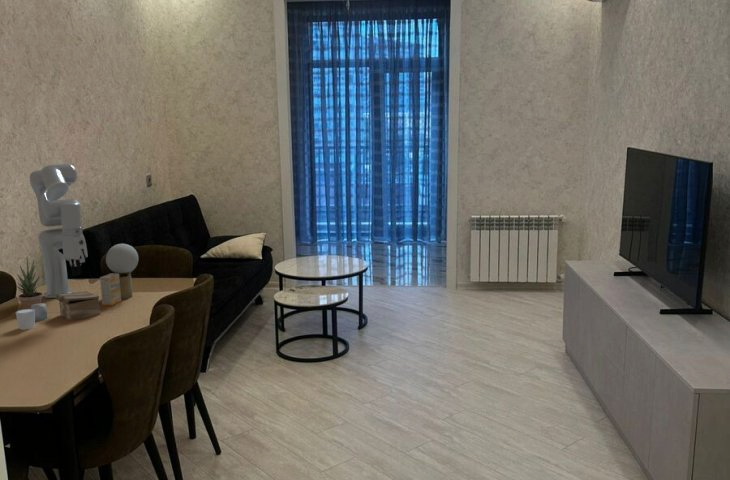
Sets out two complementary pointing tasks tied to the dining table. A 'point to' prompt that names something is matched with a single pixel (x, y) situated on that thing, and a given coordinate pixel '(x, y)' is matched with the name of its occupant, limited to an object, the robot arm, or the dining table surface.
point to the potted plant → (29, 289)
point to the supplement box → (110, 289)
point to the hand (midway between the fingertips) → (76, 274)
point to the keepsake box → (80, 309)
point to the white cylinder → (26, 318)
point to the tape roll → (40, 311)
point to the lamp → (123, 266)
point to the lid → (75, 296)
